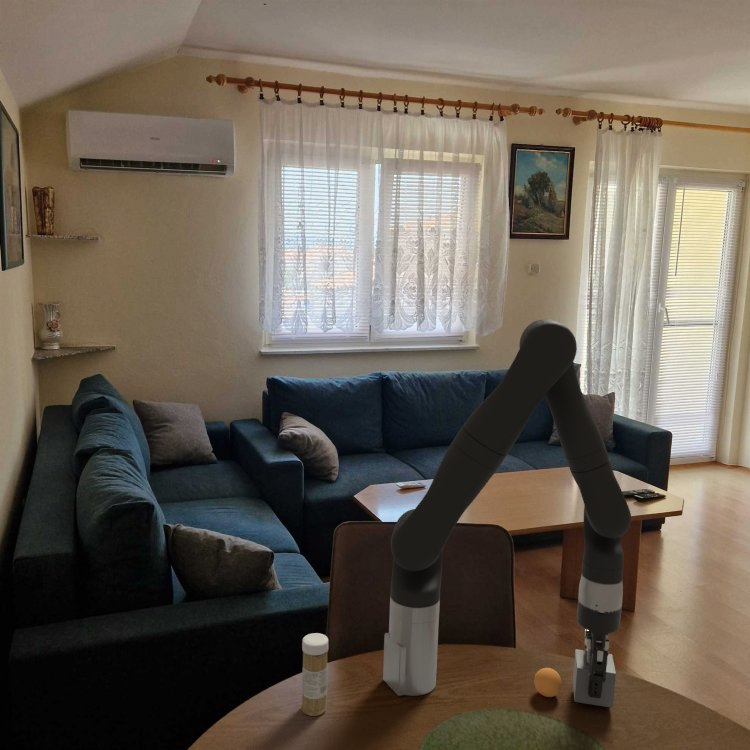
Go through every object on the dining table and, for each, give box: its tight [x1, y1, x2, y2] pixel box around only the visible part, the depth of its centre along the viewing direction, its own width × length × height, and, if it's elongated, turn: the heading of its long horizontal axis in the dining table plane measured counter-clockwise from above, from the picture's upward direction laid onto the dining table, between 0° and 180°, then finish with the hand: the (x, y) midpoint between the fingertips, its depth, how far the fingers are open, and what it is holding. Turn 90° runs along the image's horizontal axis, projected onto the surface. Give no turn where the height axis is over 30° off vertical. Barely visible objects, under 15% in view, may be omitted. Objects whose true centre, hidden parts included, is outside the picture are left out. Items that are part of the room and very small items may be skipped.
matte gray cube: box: [572, 648, 617, 709], centre depth 132 cm, size 7×7×7 cm
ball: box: [533, 667, 563, 698], centre depth 134 cm, size 5×5×5 cm
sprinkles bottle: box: [301, 632, 329, 717], centre depth 127 cm, size 5×5×13 cm
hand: (592, 685), depth 132 cm, fingers closed on matte gray cube, 6 cm apart
